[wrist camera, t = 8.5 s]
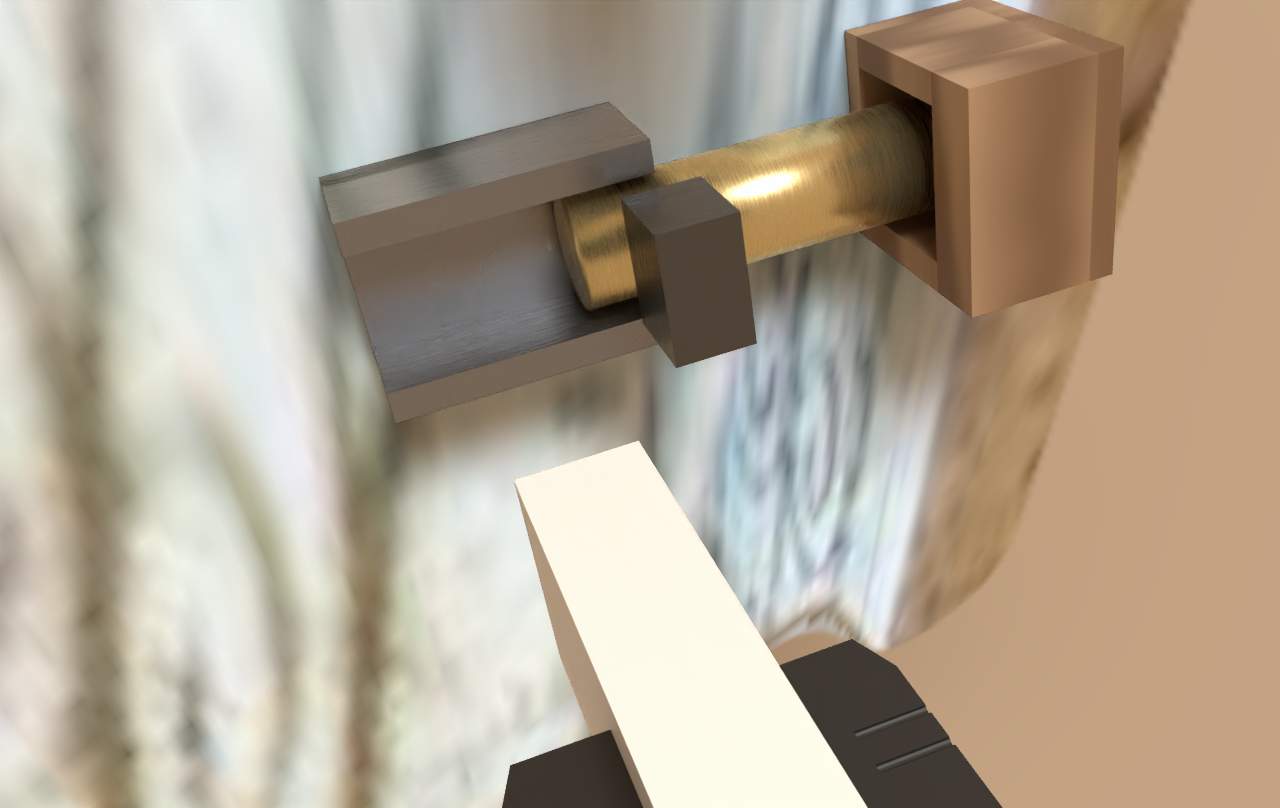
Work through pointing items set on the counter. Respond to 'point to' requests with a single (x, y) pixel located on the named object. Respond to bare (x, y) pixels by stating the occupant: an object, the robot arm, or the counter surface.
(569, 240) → the brass bolt
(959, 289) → the socket
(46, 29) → the counter surface
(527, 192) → the open channel
